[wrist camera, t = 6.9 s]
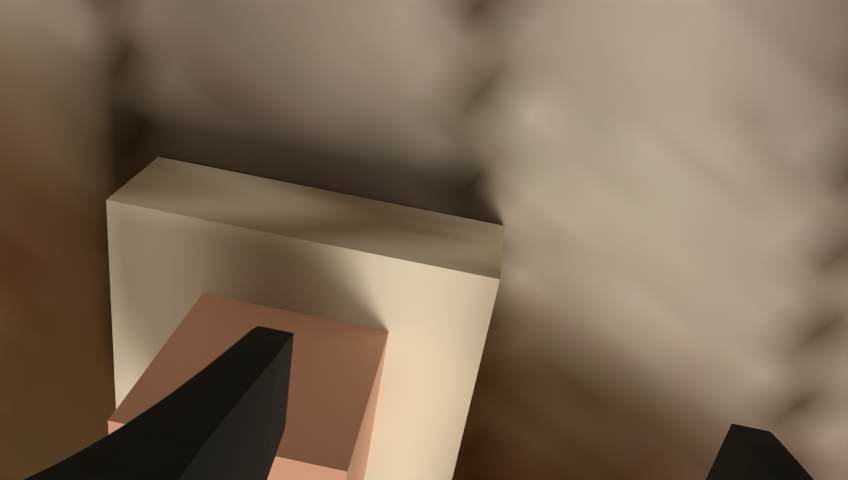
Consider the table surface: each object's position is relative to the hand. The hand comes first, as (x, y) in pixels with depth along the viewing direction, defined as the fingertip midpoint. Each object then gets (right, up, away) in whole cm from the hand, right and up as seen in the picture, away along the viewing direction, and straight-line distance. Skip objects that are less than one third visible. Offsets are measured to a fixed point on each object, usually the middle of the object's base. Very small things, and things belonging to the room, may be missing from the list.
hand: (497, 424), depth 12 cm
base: (-5, 0, +11) cm, 12 cm away
